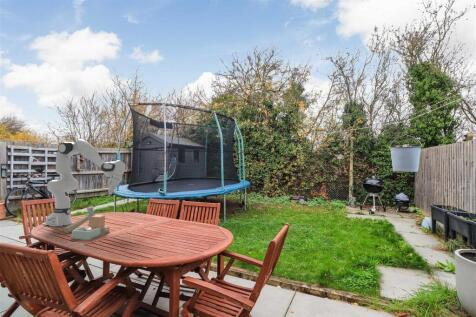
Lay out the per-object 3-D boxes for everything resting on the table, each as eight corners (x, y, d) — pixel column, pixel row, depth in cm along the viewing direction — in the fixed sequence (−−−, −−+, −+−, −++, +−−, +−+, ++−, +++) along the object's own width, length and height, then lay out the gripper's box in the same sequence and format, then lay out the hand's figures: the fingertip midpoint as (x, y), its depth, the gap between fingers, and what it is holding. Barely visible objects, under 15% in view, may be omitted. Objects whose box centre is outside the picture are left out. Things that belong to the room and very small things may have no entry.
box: (71, 238, 209) (71, 230, 209) (83, 234, 220) (83, 226, 220) (89, 240, 206) (89, 231, 206) (99, 235, 218) (100, 227, 218)
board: (83, 234, 220) (83, 229, 220) (93, 230, 232) (93, 225, 232) (99, 235, 218) (99, 230, 218) (109, 231, 230) (109, 226, 230)
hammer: (67, 221, 219) (94, 206, 248) (62, 221, 220) (89, 206, 249) (70, 240, 223) (96, 223, 252) (65, 240, 224) (91, 223, 253)
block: (90, 228, 224) (91, 216, 224) (96, 226, 231) (96, 214, 231) (99, 228, 223) (99, 217, 223) (104, 226, 230) (104, 215, 230)
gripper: (109, 181, 245) (103, 196, 239) (113, 174, 229) (107, 191, 223) (117, 183, 248) (111, 198, 242) (121, 177, 231) (115, 193, 225)
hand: (109, 195), depth 232 cm, fingers open, 8 cm apart
